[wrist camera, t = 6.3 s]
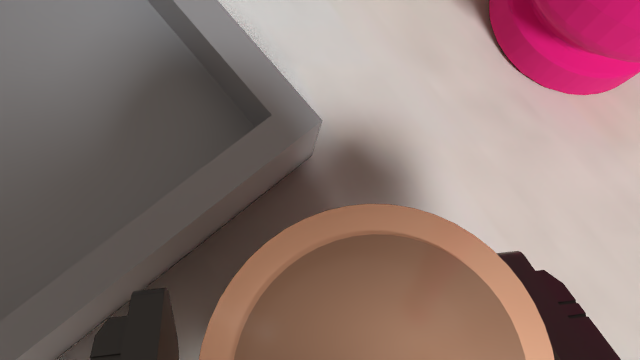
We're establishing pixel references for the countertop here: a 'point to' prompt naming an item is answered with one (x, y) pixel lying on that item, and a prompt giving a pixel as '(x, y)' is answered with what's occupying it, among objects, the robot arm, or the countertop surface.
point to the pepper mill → (570, 41)
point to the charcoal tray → (125, 152)
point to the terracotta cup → (375, 294)
